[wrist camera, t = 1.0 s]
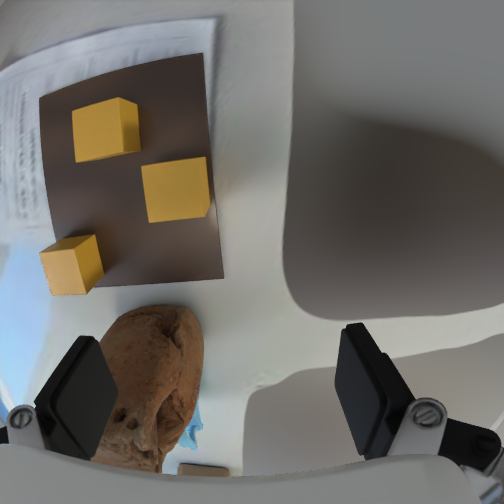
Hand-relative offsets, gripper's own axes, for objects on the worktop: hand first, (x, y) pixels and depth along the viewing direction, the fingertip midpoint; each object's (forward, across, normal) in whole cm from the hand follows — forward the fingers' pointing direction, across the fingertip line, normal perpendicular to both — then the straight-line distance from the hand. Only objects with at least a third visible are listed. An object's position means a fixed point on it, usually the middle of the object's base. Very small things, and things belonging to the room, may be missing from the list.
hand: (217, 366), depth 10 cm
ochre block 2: (+21, +11, -11) cm, 26 cm away
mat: (+21, +12, -6) cm, 25 cm away
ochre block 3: (+21, +4, -5) cm, 22 cm away
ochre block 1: (+21, +18, +2) cm, 28 cm away
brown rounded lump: (+22, +10, +12) cm, 26 cm away
